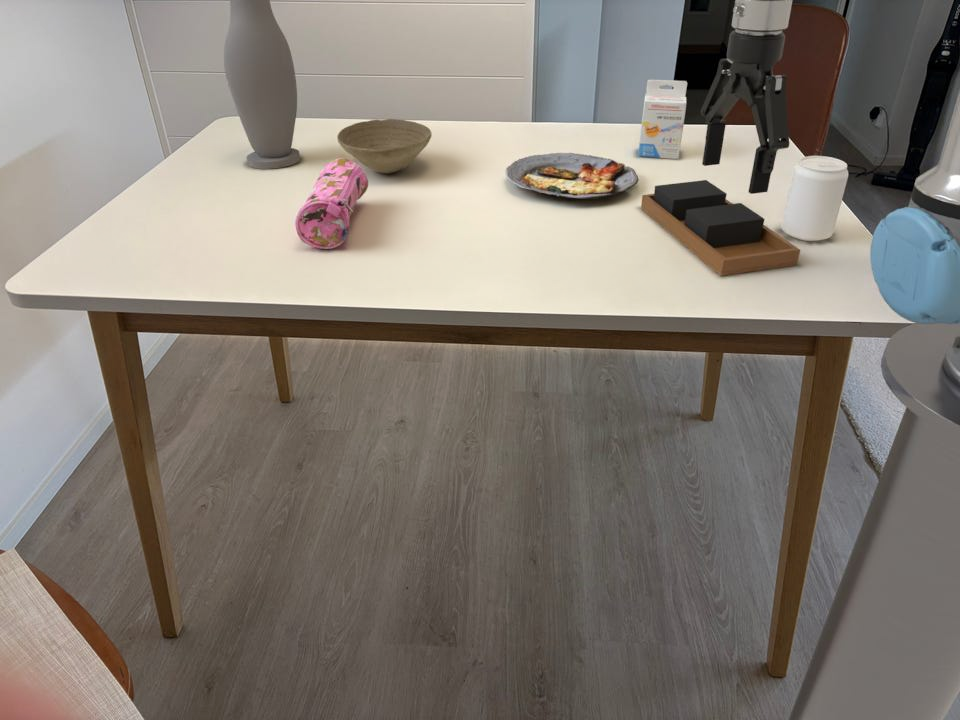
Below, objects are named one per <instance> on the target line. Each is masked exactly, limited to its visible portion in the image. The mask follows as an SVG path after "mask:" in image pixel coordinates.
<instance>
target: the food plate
mask: <svg viewBox="0 0 960 720" xmlns="http://www.w3.org/2000/svg"><path fill="white" fill-rule="evenodd" d="M505 176H506V178H507V180H508V181H510V182H511V183H512V184H514V185H515V186H517V187H520V188H521V189H523V190H524V189H525V190H529V191H535V192H536V193H540V194H542V193H543V194H547V195H554V196H556V197H558V198H560V197H562V198H563V197H565V198H571V199H579V200H580V199H582V200H591V199H599V198H607V197H613V196H615V195H621V194H624V193H625V192H626V191H628V190H630V189H632V187H634V186H635V185H637V184H638V182H639V176H638V174H637V172H636V170H635V169H634V168H632V167H631V166H628V165H626V164H624V162H619V161H615V160H614V159H612V158H607V157H602V156H596V155H590V154H584V153H575V152H554V153H553V152H551V153H543V154H533V155H528V156H525V157H522V158H520V157H519V158H518V159H516V160H514V162H512V163H511V164H510V165H508V166H507V167H505Z"/></svg>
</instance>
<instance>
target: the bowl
mask: <svg viewBox="0 0 960 720" xmlns="http://www.w3.org/2000/svg"><path fill="white" fill-rule="evenodd" d="M431 138H432V130H431V129H430V128H429V127H427V126H426V125H424V124H422V123H420V122H419V123H418V122H416V121H411V120H406V119H396V118H389V119H371V120H367V121H360V122H355V123H353V124H351V125H348V126H346V127H343V129H341V130H340V131H339V132H338V133H337V136H336V139H337V143H338V144H339V145H340V146H341V148H342V149H343V150H344V151H345V152H346V153H348V154H349V155H350V156H352V157H353V158H354V159H355V160H357V161H359V162H360V163H361V164H362V165H363V166H364V167H366V168H367V169H369V170H372V171H374V172H377V173H381V174H392V173H397V172H399V171H402V170H403V169H404V168H406V167H407V166H409V165H410V164H411V163H412V162H413V161H414V160H415V159H416V158H417V157H418V156H419V155H420V154H421V152H423V150H424V149H425V148H426V147H427V146H428V145H429V142H430V141H431Z"/></svg>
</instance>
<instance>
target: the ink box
mask: <svg viewBox="0 0 960 720" xmlns="http://www.w3.org/2000/svg"><path fill="white" fill-rule="evenodd" d="M666 85H667V86H669V87H672V89H671V88H660V87H665V86H666ZM687 87H688V82H687V80H672V79H671V80H669V79H648V80H647V81H646V90H645V95H644V99H643V100H644V101H643V109H642V116H641V117H642V118H641V126H640V135H639V143H638V144H639V145H638V157H641V158H656V159H671V160H679V159H680V152H681V145H682V138H683V130H684V124H685V117H686V112H687V111H686V110H687V96H686V94H687Z"/></svg>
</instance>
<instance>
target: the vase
mask: <svg viewBox="0 0 960 720" xmlns="http://www.w3.org/2000/svg"><path fill="white" fill-rule="evenodd" d="M229 9H230V10H229V11H230V14H229V15H230V17H229V25H228V28H227V33H226V37H225V40H224V48H223V66H224V68H223V69H224V74H225V78H226V81H227V85H228V88H229V92H230V94H231V97H232V100H233V103H234V105H235V109H236V111H237V114H238V117H239V120H240V122H241V124H242V127H243V130H244V132H245V135H246V137H247V140H248V142H249V144H250V146H251V149H252V150H253V151H252V152H250V153H248V154H247V155H246V161H247V164H248V166H249V167H250V168H252V169H257V170H259V169H260V170H261V169H262V170H269V169H270V170H271V169H280V168H285V167H290V166H293V165H295V164H297V163H299V162H300V161H301V154H300V151H299V150H298V148H297V149H296V148H293V146H292V145H293V139H294V133H295V128H296V127H295V126H296V119H297V112H298V89H297V78H296V77H297V76H296V71H295V66H294V61H293V56H292V51H291V49H290V45H289V44H288V40H287V38H286V37H285V36H286V35H285V34H284V33H283V31H282V29H281V27H280V26H279V24H278V22H277V20H276V17H275V15H274V11H273V9H272V5H271V1H270V0H229Z"/></svg>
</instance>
